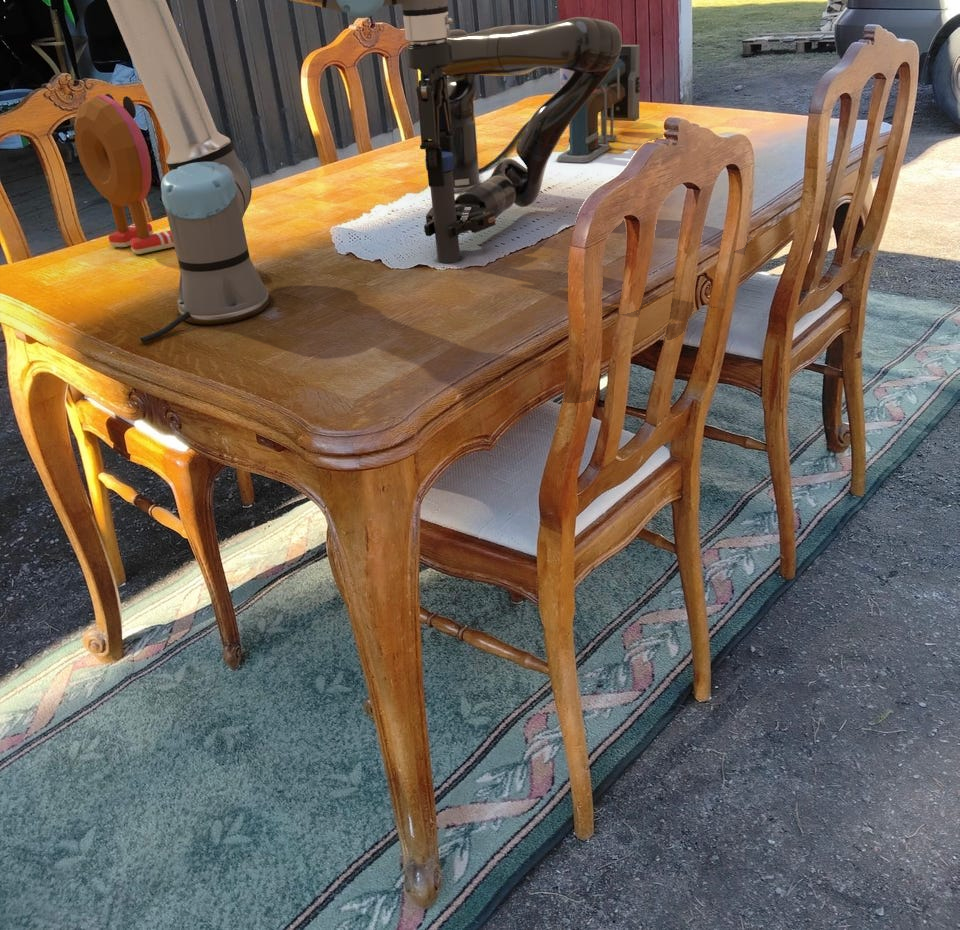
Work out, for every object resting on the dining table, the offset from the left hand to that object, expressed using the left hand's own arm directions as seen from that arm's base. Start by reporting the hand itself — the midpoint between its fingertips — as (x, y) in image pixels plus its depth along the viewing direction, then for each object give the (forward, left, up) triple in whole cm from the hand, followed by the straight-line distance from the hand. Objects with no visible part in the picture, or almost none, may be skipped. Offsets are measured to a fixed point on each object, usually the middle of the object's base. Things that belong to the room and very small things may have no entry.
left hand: (441, 180), depth 173 cm
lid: (0, 0, +4) cm, 4 cm away
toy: (+3, +68, -15) cm, 70 cm away
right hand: (-3, 0, -9) cm, 9 cm away
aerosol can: (+120, +1, -15) cm, 121 cm away
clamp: (+88, -12, -15) cm, 90 cm away
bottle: (0, 0, -15) cm, 15 cm away
